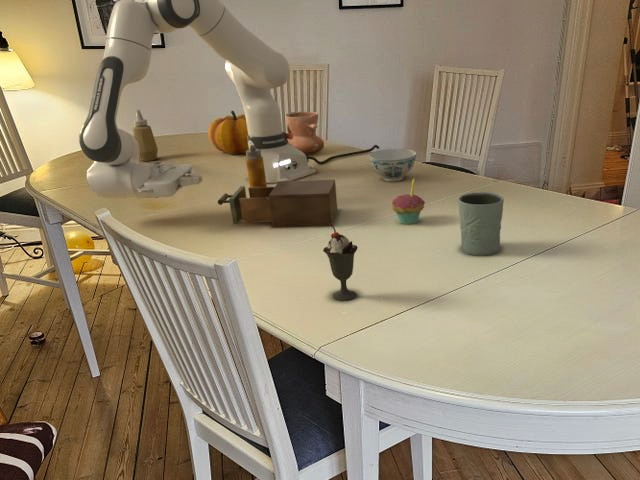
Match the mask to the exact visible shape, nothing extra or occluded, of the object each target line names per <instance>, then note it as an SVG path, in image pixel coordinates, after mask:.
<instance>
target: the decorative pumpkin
mask: <svg viewBox="0 0 640 480" xmlns="http://www.w3.org/2000/svg"><path fill="white" fill-rule="evenodd" d="M230 114H231V115H226V116H223V118H222V117H219V118H216V119H214V120H213V121H212V122H211V123H210V124H209V127H208V129H207V136H208V139H209V142H210V143H211V145H212V147H214V148H215V149H216V150H217V151H219V152H223V153H224V154H225V153H226V154H229V155H236V154H246V150H249V147H248V139H247V135H248V130H247V123H246V117H245V114H240V115H236V113H235V111H234V110H231V111H230Z"/></svg>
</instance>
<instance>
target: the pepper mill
mask: <svg viewBox="0 0 640 480" xmlns="http://www.w3.org/2000/svg"><path fill="white" fill-rule="evenodd" d="M245 155H246V157H245V165H246V172H247V178H248V179H247V180H248V185H249V187H268V183H266V177H265V169H264V162H263V157H262V156H261V151H260V149H256V147H255V146H254V145H251V146H250V149H249V150H246V153H245Z"/></svg>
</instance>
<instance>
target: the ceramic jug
mask: <svg viewBox="0 0 640 480" xmlns="http://www.w3.org/2000/svg"><path fill="white" fill-rule="evenodd" d="M284 116H285V120H286V130H287V131H286V132H287V133H293V134H294V136H293V137H294V138H293V139H292V140H291V139H287V140H288V142H289V144H291V145H292V146H294V147H295V148H297V149H298V150H300V151H302V152H303V153H304V154H305V155H308V156H311V155H314V154H317V153H319V152H320V151H322V150H323V148H324V146H325V141H324V140H323V139H322V138H321V137H320V136H318V135H316V130H317V128H319V126H318V121H319V113H318V112H316V111H291V112H289V113H286V114H285V115H284Z"/></svg>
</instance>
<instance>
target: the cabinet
mask: <svg viewBox="0 0 640 480" xmlns="http://www.w3.org/2000/svg"><path fill="white" fill-rule="evenodd" d="M273 187H274V189H273V190H272V192H271V193H270V194H269V201H270V209H271V216H272V228H305V227H307V228H308V227H309V228H310V227H311V228H312V227H331V226H330V225H329V223H331V224H332V225H333V223H334V221H335V218H336V215H337V213H338V201H337V200H338V199H337V198H338V197H337V185H336V179H309V180H292V181H279V182H276V185H275V186H273Z"/></svg>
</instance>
